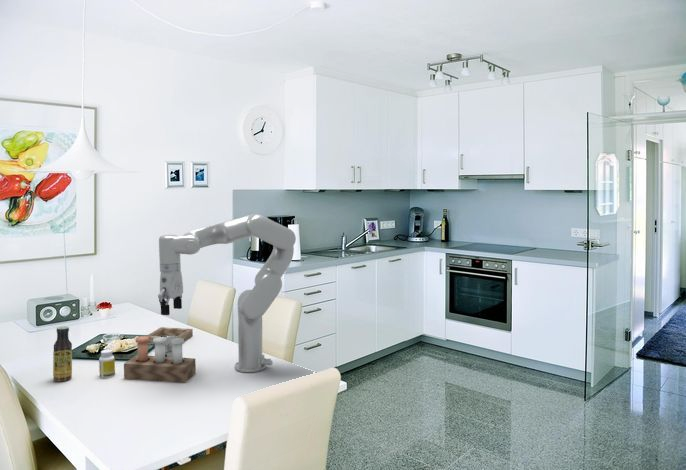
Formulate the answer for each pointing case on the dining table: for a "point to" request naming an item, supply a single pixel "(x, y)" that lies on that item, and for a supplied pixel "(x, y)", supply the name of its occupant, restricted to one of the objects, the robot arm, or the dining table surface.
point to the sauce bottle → (62, 356)
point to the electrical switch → (168, 346)
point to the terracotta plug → (142, 348)
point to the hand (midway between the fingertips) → (171, 311)
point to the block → (160, 370)
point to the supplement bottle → (106, 364)
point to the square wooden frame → (171, 333)
